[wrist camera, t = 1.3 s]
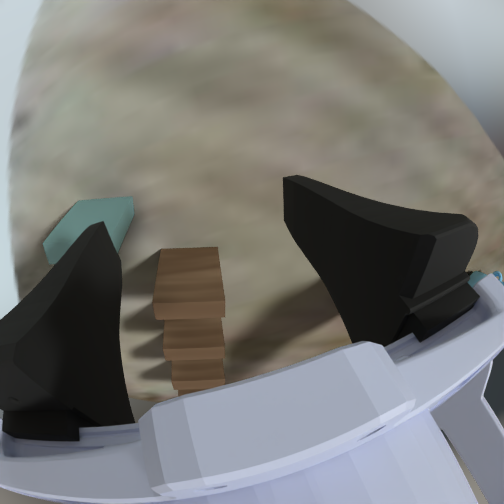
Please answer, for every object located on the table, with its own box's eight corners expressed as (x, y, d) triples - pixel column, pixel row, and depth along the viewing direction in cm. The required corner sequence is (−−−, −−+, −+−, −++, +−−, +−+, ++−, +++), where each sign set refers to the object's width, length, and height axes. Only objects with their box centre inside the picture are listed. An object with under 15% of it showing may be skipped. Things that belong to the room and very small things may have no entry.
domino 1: (161, 248, 24) (152, 303, 18) (217, 246, 25) (225, 300, 19) (162, 263, 25) (155, 319, 19) (217, 262, 26) (225, 317, 20)
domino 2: (166, 292, 27) (162, 349, 21) (217, 291, 27) (224, 346, 22) (168, 304, 27) (165, 360, 22) (217, 303, 28) (224, 358, 22)
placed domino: (78, 200, 20) (42, 243, 14) (132, 196, 21) (109, 239, 15) (81, 217, 21) (49, 264, 15) (134, 214, 22) (114, 262, 16)
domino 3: (172, 327, 29) (171, 381, 23) (218, 325, 30) (225, 379, 24) (174, 337, 30) (174, 389, 24) (218, 335, 31) (225, 387, 25)
